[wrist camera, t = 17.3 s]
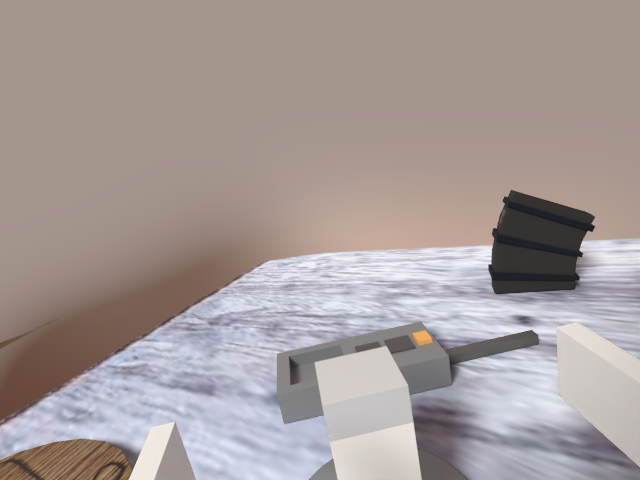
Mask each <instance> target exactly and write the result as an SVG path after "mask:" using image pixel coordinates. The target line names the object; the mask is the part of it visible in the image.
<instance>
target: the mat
mask: <svg viewBox="0 0 640 480" xmlns="http://www.w3.org/2000/svg"><path fill="white" fill-rule="evenodd" d="M417 451H418V458H419V464H420V471H421V478H422V480H467V479H466V478H465V477H464V476H463V475H462V474H461V473H460V472H459V471H458V470H456V469H455V468H454V467H453V466H451V465H450V464H449V463H447V462H446V461H444V460H443V459H441V458H439V457H438V456H436V455H434V454H431V453H429V452H427V451H424V450H421V449H419V448H417ZM309 480H338V478H337V474H336V469H335V464H334V459H332V460H331V461H329V462H328V463H326V464H325V465H324V466H322V467H321V468H320V469H319V470H318V471H317V472H316V473H315V474H314V475H313V476H312V477H311V478H310V479H309Z"/></svg>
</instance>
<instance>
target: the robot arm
mask: <svg viewBox="0 0 640 480" xmlns="http://www.w3.org/2000/svg"><path fill="white" fill-rule="evenodd" d="M556 332H557V354H558V376H559V395H560V396H561V397H562V398H563V399H564V400H565V401H566V402H568V403H569V404H570V405H571V406H572V407H573V408H574V409H575V410H577V411H578V412H579V413H580V414H581V415H582V416H583V417H584V418H585V419H587V420H588V421H589V422H590V423H591V424H592V425H593V426H594V427H596V428H597V429H598V430H599V431H600V432H601V433H602V434H603V435H605V436H606V437H607V438H608V439H609V440H610V441H611V442H612V443H613V444H615V445H616V446H617V447H618V448H619V449H620V450H621V451H622V452H624V453H625V454H626V455H627V456H628V457H629V458H630V459H631V460H632V461H634V462H635V463H636V464H637V465H638V466H639V467H640V360H639V359H638V358H636V357H634V356H633V355H631V354H629V353H628V352H626V351H624V350H623V349H621V348H619V347H618V346H616V345H614V344H613V343H611V342H609V341H608V340H606V339H604V338H603V337H601V336H599V335H598V334H596V333H594V332H593V331H591V330H589V329H588V328H586V327H584V326H583V325H581V324H579V323H578V322H576V323H572V324H568V325H564V326H560V327H556ZM129 480H196V478H195V476H194V473H193V470H192V467H191V464H190V462H189V459H188V456H187V453H186V451H185V448H184V445H183V442H182V440H181V437H180V434H179V431H178V429H177V426H176V423H175V422H172V423H168V424H164V425H160V426H156V427H152V428H151V430H150V432H149V435H148V437H147V439H146V441H145V444H144V446H143V448H142V451H141V453H140V455H139V457H138V460H137V462H136V464H135V467H134V469H133V471H132V473H131V476H130V478H129Z"/></svg>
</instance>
